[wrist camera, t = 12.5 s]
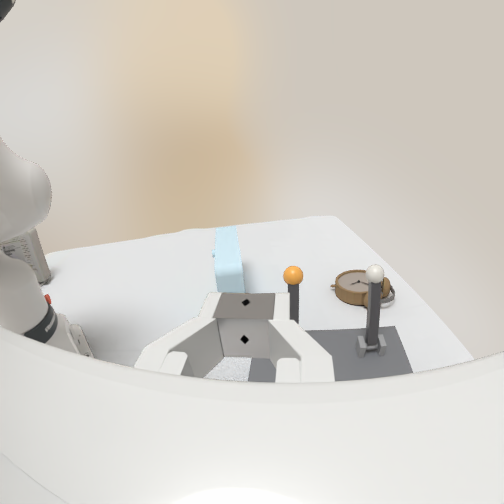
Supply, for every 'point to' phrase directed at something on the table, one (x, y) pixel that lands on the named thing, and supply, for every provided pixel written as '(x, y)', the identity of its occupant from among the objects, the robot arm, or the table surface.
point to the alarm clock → (358, 288)
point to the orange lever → (293, 289)
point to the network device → (28, 253)
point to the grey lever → (373, 305)
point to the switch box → (349, 356)
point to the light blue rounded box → (228, 261)
